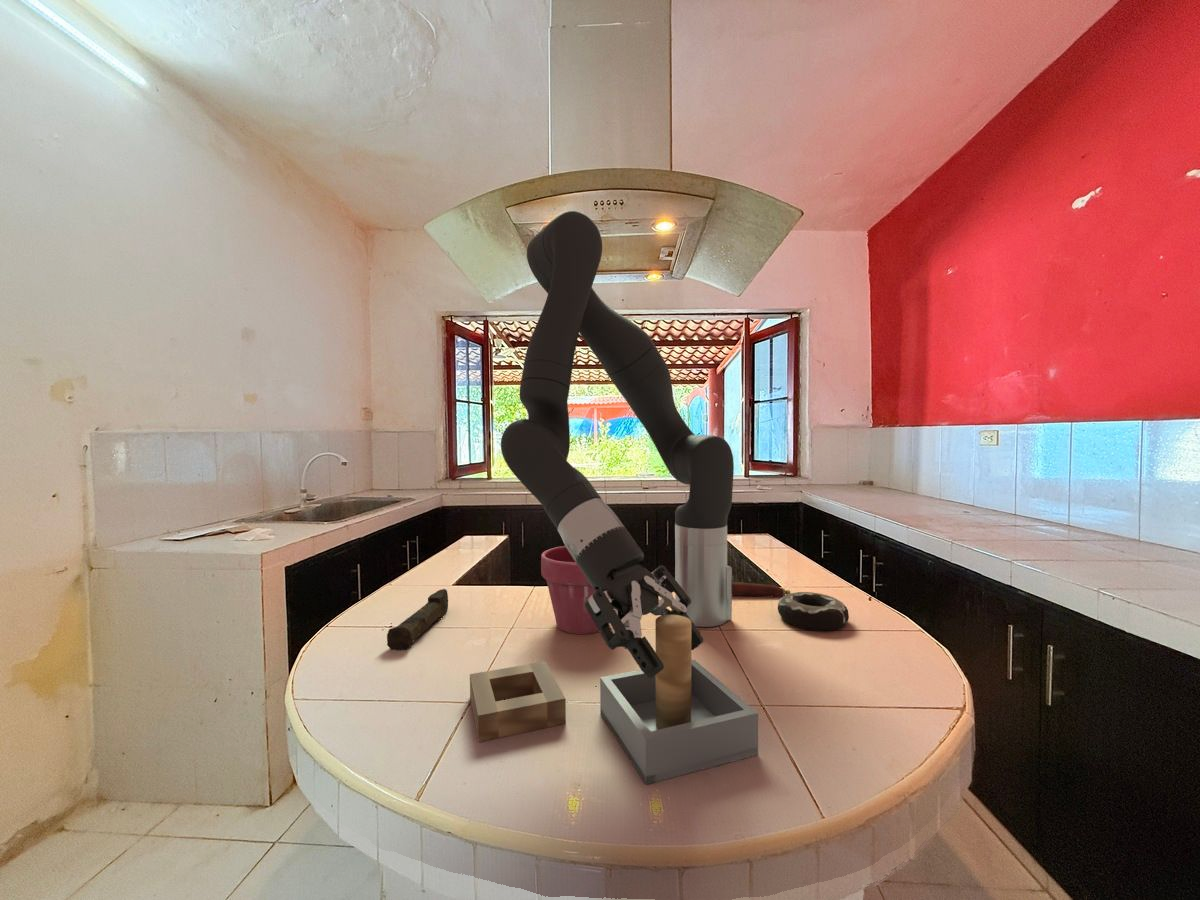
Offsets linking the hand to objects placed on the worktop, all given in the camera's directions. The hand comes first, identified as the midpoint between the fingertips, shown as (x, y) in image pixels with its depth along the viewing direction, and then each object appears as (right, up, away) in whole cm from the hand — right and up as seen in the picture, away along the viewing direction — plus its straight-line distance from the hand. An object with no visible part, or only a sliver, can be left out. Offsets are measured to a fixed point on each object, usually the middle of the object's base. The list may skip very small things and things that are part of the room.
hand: (678, 659), depth 56 cm
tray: (0, -9, +1) cm, 9 cm away
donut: (+29, -8, +34) cm, 45 cm away
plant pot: (-12, -8, +33) cm, 36 cm away
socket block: (-19, -9, +6) cm, 22 cm away
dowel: (-1, -8, +1) cm, 8 cm away
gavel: (+20, -7, +48) cm, 52 cm away
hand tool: (-40, -8, +32) cm, 52 cm away
